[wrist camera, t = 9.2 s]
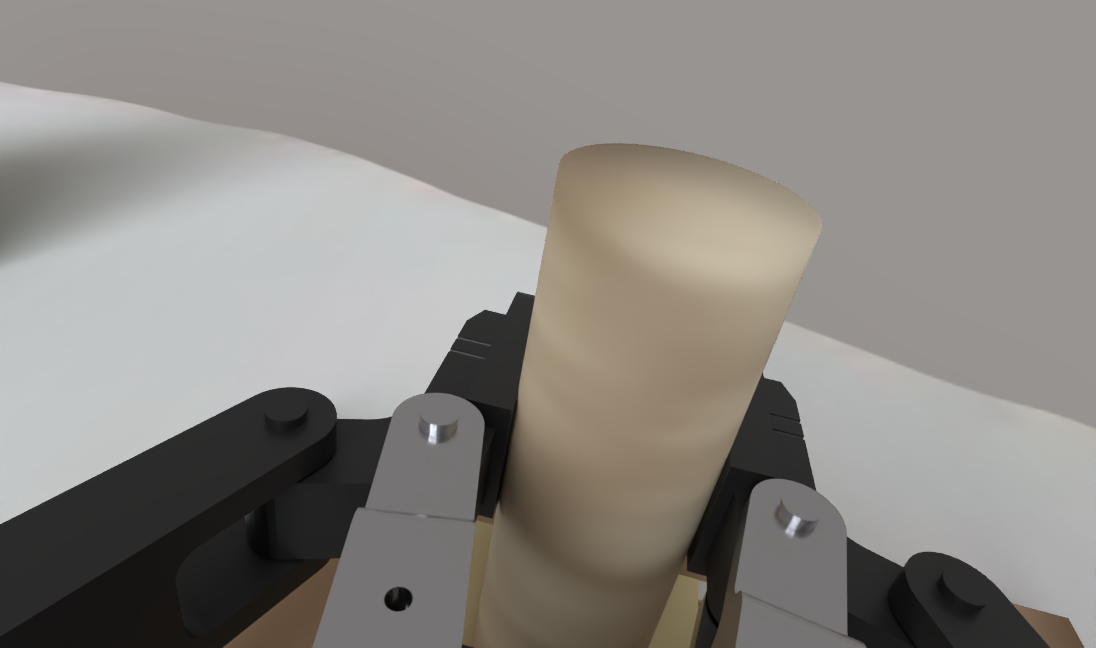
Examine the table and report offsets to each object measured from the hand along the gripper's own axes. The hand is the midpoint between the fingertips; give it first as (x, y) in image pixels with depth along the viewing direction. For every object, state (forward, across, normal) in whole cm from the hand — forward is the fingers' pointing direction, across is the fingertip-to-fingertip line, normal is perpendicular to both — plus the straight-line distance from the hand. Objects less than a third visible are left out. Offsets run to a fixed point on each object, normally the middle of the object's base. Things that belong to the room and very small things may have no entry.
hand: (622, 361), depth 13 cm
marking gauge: (-3, 0, +7) cm, 8 cm away
